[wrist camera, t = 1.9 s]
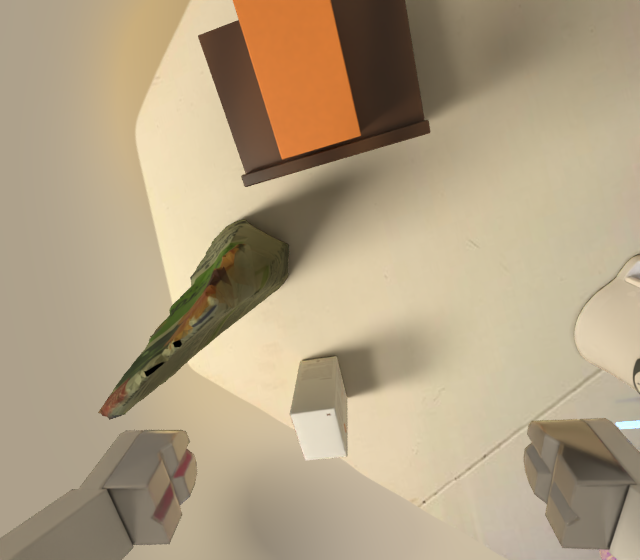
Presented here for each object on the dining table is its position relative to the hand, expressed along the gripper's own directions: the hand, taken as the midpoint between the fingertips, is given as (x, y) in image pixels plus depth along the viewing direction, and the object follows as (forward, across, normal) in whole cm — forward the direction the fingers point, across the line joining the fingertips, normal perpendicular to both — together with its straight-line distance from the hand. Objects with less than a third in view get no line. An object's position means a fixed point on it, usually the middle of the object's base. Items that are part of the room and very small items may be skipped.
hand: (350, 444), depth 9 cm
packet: (+26, +2, -10) cm, 29 cm away
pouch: (+37, +13, +7) cm, 40 cm away
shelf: (+36, +2, -10) cm, 38 cm away
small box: (+37, +6, +27) cm, 46 cm away
